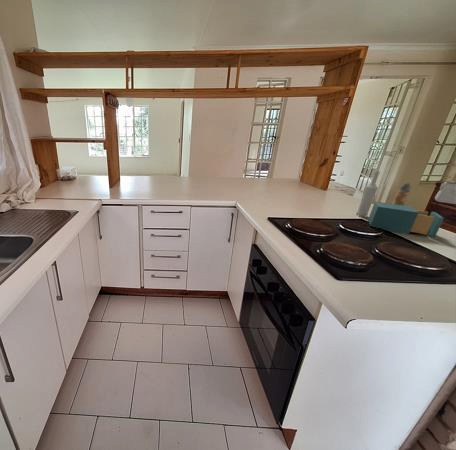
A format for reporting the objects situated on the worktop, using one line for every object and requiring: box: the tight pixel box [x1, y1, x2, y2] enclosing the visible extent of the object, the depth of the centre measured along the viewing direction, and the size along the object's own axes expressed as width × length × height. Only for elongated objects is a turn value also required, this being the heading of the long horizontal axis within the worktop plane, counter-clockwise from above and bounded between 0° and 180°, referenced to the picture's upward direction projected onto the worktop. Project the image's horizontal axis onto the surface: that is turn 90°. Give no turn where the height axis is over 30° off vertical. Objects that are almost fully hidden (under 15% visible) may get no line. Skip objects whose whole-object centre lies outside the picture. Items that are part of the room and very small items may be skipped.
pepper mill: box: [391, 182, 412, 206], centre depth 124 cm, size 5×5×21 cm
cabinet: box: [367, 201, 418, 235], centre depth 115 cm, size 14×14×11 cm
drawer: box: [409, 209, 445, 238], centre depth 110 cm, size 14×12×9 cm
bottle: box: [355, 170, 381, 217], centre depth 130 cm, size 5×5×25 cm
